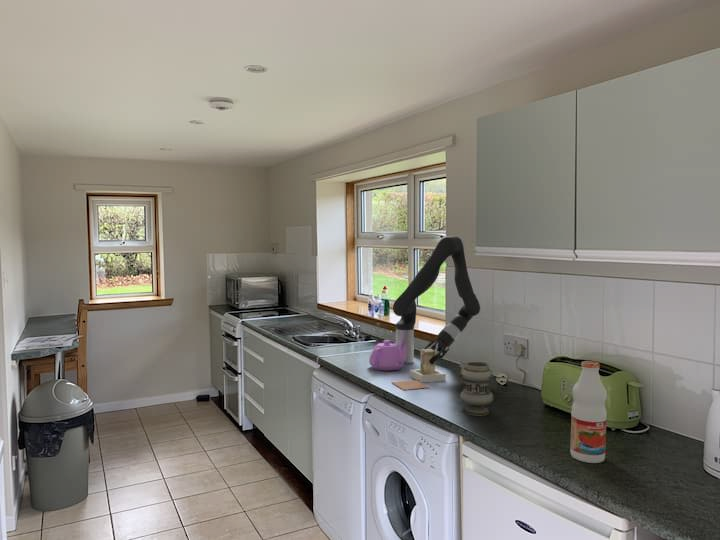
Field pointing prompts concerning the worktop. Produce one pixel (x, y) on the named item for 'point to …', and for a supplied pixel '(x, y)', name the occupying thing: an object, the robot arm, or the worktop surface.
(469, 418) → the worktop surface
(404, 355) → the teapot
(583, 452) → the fruit juice
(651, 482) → the worktop surface
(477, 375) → the apothecary jar
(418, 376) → the collar frame
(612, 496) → the worktop surface
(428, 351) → the beech block
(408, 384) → the mat
